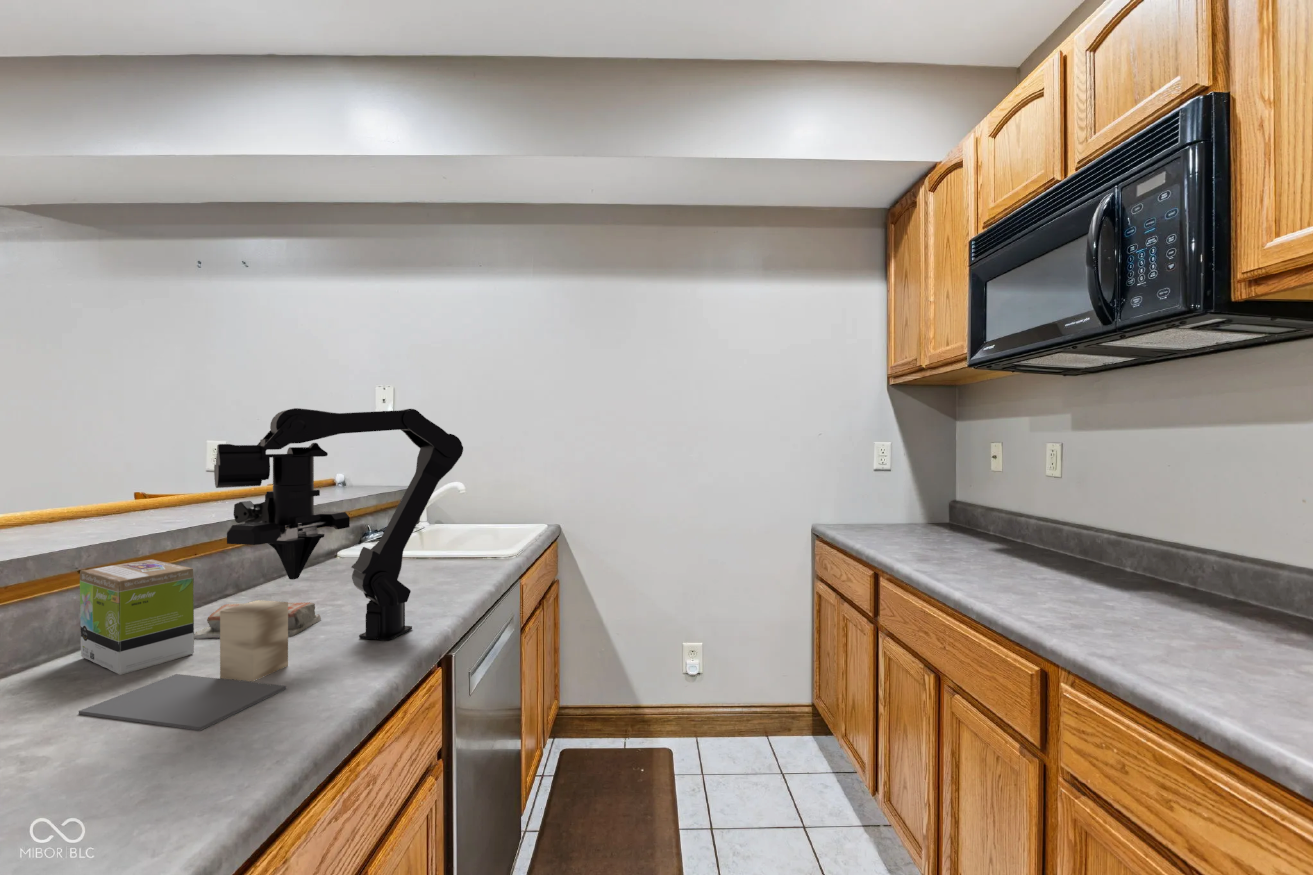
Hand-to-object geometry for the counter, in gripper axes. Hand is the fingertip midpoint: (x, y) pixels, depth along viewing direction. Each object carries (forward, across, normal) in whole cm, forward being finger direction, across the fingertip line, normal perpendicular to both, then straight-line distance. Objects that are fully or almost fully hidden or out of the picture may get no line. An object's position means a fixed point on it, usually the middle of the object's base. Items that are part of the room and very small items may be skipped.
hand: (293, 578), depth 93 cm
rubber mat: (+12, +17, 0) cm, 21 cm away
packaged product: (+13, -10, -18) cm, 24 cm away
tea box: (+13, +6, -25) cm, 29 cm away
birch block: (+13, +7, 0) cm, 14 cm away
